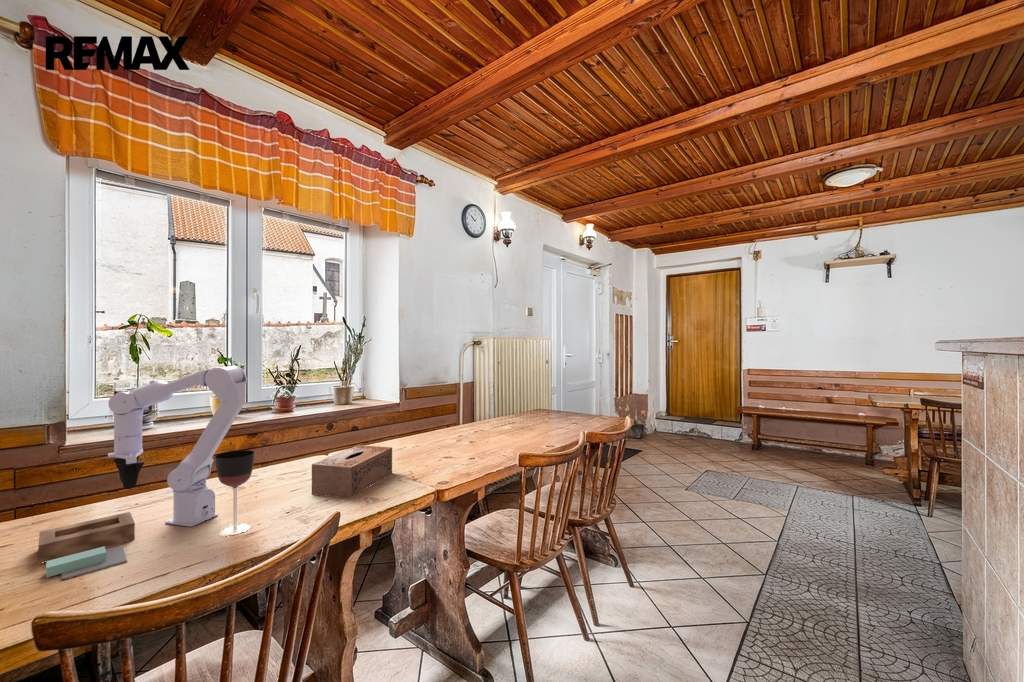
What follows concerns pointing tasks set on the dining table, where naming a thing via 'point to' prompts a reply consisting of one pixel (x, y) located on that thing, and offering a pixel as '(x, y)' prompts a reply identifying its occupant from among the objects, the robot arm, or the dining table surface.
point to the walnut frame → (85, 536)
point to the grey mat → (112, 559)
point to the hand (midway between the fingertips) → (128, 484)
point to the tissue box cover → (351, 470)
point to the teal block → (75, 561)
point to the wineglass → (235, 479)
